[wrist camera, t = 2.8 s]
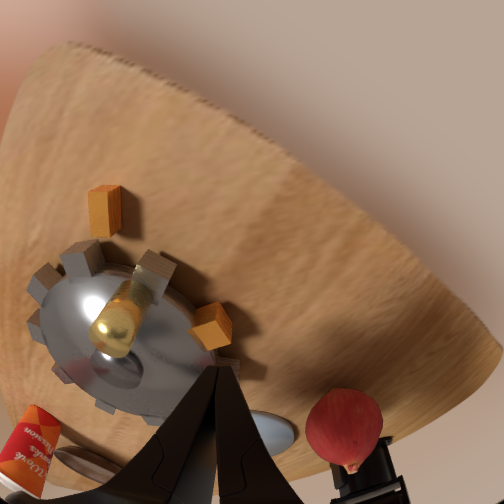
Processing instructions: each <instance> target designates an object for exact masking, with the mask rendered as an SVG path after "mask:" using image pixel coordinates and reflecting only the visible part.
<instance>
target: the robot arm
mask: <svg viewBox="0 0 504 504" xmlns="http://www.w3.org/2000/svg"><path fill="white" fill-rule="evenodd" d="M391 442H392V437H388V438H383V439H378V442H377V444H376V447H375V448H374V450H373V451H372V452H371V454H370V455H369V456H368V457H367V458H366V459H365V460H364V462H363V463H362V464H361V465H360V467H359V468H358V471H357V472H355V473H353V474H348V473H347V470H346V469H345V467H344V466H341V465H337V464H333V463H330V464H329V465H330V467H331V469H332V474H333V480H334V486H335V489H336V490H337V489H339V492H340V498H337V499H336V498H335V499H331V502H330V504H411V502H410V498H409V495H408V491H407V488H406V484H405V481H404V479H403V476H402V475H401V476H399V477H398V478H397V477H396V473H395V470H394V467H393V463H392V460H391V457H390V454H389V450H388V447H387V446H388V445H389V444H390V443H391ZM216 467H217V470H218V486H219V497H220V504H304V503H303V502H302V500H301V499H300V498H299V497H298V495H297V494H296V493H295V491H294V490H293V489H292V488H291V486H290V485H289V483H288V482H287V480H286V479H285V478H284V476H283V475H282V473H281V472H280V471H279V469H278V468H277V466H276V464H275V463H274V461H273V460H272V458H271V456H270V454H269V452H268V450H267V448H266V446H265V444H264V442H263V439H262V438H261V435H260V433H259V431H258V428H257V426H256V424H255V421H254V419H253V417H252V414H251V412H250V410H249V407H248V405H247V402H246V400H245V398H244V395H243V393H242V390H241V388H240V385H239V383H238V380H237V378H236V375H235V373H234V370H233V368H232V366H231V365H220V366H219V365H208V366H206V368H205V369H204V370H203V372H202V373H201V374H200V376H199V377H198V378H197V380H196V381H195V382H194V384H193V385H192V386H191V387H190V389H189V390H188V391H187V393H186V394H185V395H184V397H183V398H182V399H181V401H180V402H179V403H178V404H177V406H176V407H175V408H174V410H173V411H172V412H171V413H170V415H169V416H168V417H167V419H166V420H165V421H164V422H163V424H162V425H161V426H160V427H159V429H158V430H157V431H156V434H154V435H153V436H152V437H151V439H150V440H149V441H148V442H147V443H146V445H145V446H144V447H143V448H142V449H141V450H140V451H139V452H138V453H137V454H136V455H135V456H134V457H133V458H132V459H131V460H130V461H129V462H128V463H127V464H126V465H125V466H124V467H123V468H122V469H121V470H120V471H119V472H117V473H116V474H115V475H114V476H113V477H112V478H111V479H110V480H108V481H107V482H106V483H105V484H103V485H101V486H100V487H98V488H95V489H93V490H89V491H86V492H82V493H78V494H74V495H69V496H65V497H61V498H55V499H48V500H44V499H37V498H35V497H33V496H31V495H29V494H28V493H26V492H24V491H22V490H20V491H17V492H14V493H11V494H9V495H8V496H7V497H6V498H5V500H6V501H5V500H4V499H2V498H1V497H0V504H211V501H212V494H213V487H214V481H215V474H216ZM400 487H401V490H399V491H395V489H397V488H400ZM496 504H504V499H503V500H501V501H500V502H498V503H496Z"/></svg>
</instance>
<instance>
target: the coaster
mask: <svg viewBox="0 0 504 504" xmlns="http://www.w3.org/2000/svg"><path fill="white" fill-rule="evenodd" d="M250 412H251V414H252V417H253V419H254V421H255V424H256V426H257V428H258V431H259V433H260V435H261V438H262V439H263V442H264V444H265V446H266V448H267V450H268V452H269V454H270V456H275V455H277V454H280V453H282V452H284V451H285V450H287V449H288V448H289V447H290V446H291V445H292V444H293V441H294V431H293V427H292V426H291V424H290V423H289V422H287V421H286V420H285V419H283V418H281V417H279V416H276V415H273V414H270V413H266V412H261V411H253V410H250Z"/></svg>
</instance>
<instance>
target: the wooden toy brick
mask: <svg viewBox="0 0 504 504" xmlns="http://www.w3.org/2000/svg"><path fill="white" fill-rule="evenodd" d="M88 205H89V217H90V228H91V236H96V237H107V238H110V237H112V236H113V235H114V234H115V233H116V232H117V231H118V230H120V229H121V228H122V216H121V189H120V185H101V186H99V187H97V188H95V189H93V190H91V191H89V192H88Z"/></svg>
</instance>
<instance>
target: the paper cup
mask: <svg viewBox="0 0 504 504" xmlns="http://www.w3.org/2000/svg"><path fill="white" fill-rule="evenodd" d="M61 429H62V426H61V424H60V423H59V422H58V421H57V420H56V419H55V418H54V417H53V416H52V415H50V414H49V413H48V412H46V411H45V410H43V409H41V408H40V407H38V406H35V405H30V406H29V408H28V409H27V411H26V412H25V413H24V415H23V417H22V418H21V420H20V421H19V423H18V424H17V426H16V428H15V429H14V431H13V433H12V434H11V436H10V438H9V439H8V441H7V443H6V445H5V446H4V448H3V450H2V452H1V454H0V482H1V483H2V484H3V485H5V486H6V487H8V488H9V489H11V490H12V491H14V492H17V491H20V490H22V491H24V492H26V493H28V494H29V495H31V496H33V497H35V498H37V499H41V494H42V491H43V487H44V483H45V480H46V476H47V473H48V469H49V466H50V463H51V460H52V457H53V454H54V450H55V447H56V444H57V441H58V438H59V435H60V432H61Z"/></svg>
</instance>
